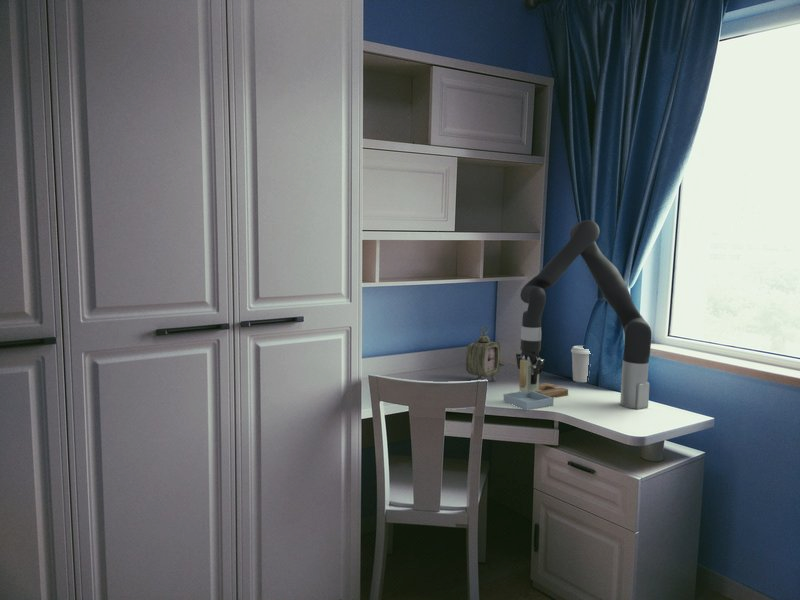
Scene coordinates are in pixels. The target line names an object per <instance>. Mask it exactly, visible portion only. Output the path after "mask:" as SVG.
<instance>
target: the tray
mask: <svg viewBox="0 0 800 600" xmlns="http://www.w3.org/2000/svg"><path fill="white" fill-rule="evenodd" d="M502 399H503V401H505V402H504V403H506V402H507V403H506V404H508V403H510V404H509V405H511V404H513V405H512V406H514V405H515V406H514V407H516V406H517V407H516V408H519V407H520V409H521V408H522V410H524V411H532V410H537V409H543V408H548V407H549V406H550V407H554V398H551V397H548V396H545V395H543V394H540V393H537V392H529V393H525V392H522V391H520V390H519V391H514V392H509V393H508V392H507V393H503V398H502ZM503 401H502V402H503ZM550 407H549V408H550Z"/></svg>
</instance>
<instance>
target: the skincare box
mask: <svg viewBox="0 0 800 600" xmlns="http://www.w3.org/2000/svg"><path fill="white" fill-rule="evenodd" d="M532 366H536V364H535V365H532ZM534 371H535V368H534ZM538 371H539V370H538ZM531 375H532V374H531V369H530V361H528V360H524V359H521V360H520V369H519V384H518V385H519V386H518V390H519V392H520V391H522V392H525V393H529V392H535V391H538V388H539V384H540V374H538V375H537V383H536V384H531Z"/></svg>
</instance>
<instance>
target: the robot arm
mask: <svg viewBox="0 0 800 600" xmlns="http://www.w3.org/2000/svg"><path fill="white" fill-rule="evenodd" d="M600 233H601V232H600V227H599V225H598V223H597V222H596V221H593V220H590V219H585V220H581V221H580V222H578V223H577V224H575V225H574V226H572V227H571V229H570V231H569V240H568V242H567V243H566V244H565V245H564V247H562V248H561V249H560V250H559V251H558V252H557V253H556V254H555V255H554V256H553V257H552V258H551V259H550V260H549V261H548V262H547V263H546V265H545V266H544V267H542V269H541V270H540V271H539V273H538V274H537V275H535V276H534V277H532V278H531V279H530V280H529V281H528V282H527V283H526V284H525V285H524V286H523V287H522V288H521V291H520V300H521V301H522V302H524V304H525V303H526V304H528V306H527V310H525V311H523V313H522V318H521V331H520V347H519V348H520V351H521V352H519V353H516V354H515V357H516V358H515V359H516V365H517V369H518V370H520V360H521V359H524V360H528V361H530V369H531V374H532V375H531V384H536V383H537V375H538V374H539V375H541V374H542V373H543V369H544V366H545V361H546V360H545V359H544V358H543V359H542V358H541V357H540V351H541V347H542V315H543V313H544V310H545V306H546V301H547V295H546V292H545V290H546V289H548V288H551V287H552V288H553V286H555V284H556V283H557V282H558V281H559V279H560V278H561V277H562V276H563V275H564V273H565V272H566V271H567V270H568V268H569V267H570V266H571V265H572V264H573V262H574V261H575V260H576V259H577V258H578V257H579V256H581V257H582V259H583V260H584V262H585V264H586V266H587V269H588V270H589V272H590V274H591V276H592V277H593V279H594V281H595V283H596V285H597V286H598V289H599V291H600V292H601V294H602V296H603V297H604V299H605V300H606V301H607V302H608V304H609V305H610V307H611V308H612V309H613V310H614V312H615V314H616V315H617V317H618V320H619V323H620V324H621V327H622V329H623V332H624V344H623V345H624V347H623V355H622V369H621V371H622V372H621V381H620V383H621V387H620V400H619V404H620V405H621V406H622V407H625V408H629V409H635V410H641V409H645V408H646V409H647V408H648V407H649V398H650V397H649V396H650V382H648V379H649V378H648V377H649V365H650V364H649V362H650V355H651V345H652V328H651V327H650V325H649V323H648V322H647V321H646V320H645V319H644V317H643V316H642V315H641V313H640V312H639V310H638V309H637V307H636V305H635V303H634V302H633V299H632V296H631V293H630V291H629V289H628V287H627V284H626V282H625V279H624V278H623V276H622V275H621V273H620V271H619V270H618V267H616V266H615V265H614V264H613V262H611V260H609V259H608V258H607V257H606V256H605V255H604V254H603V252H602V251H601V250H600V248H599V245H597V242H596V241H597V240H598V238H599V236H600ZM535 364H536V366H532V365H535ZM534 368H535V371H534ZM538 370H539V371H538Z"/></svg>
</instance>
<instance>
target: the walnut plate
mask: <svg viewBox="0 0 800 600" xmlns="http://www.w3.org/2000/svg"><path fill="white" fill-rule="evenodd" d="M535 392H537V393H540V394H543V395H545V396H548V397H551V398H553V399H554V397H555V398H560V397H567V396H569V389H568V388H565V387H562V386H559V385H555V384H552V383H549V382H545V383H544V382H543V383H539V388H538V391H535Z"/></svg>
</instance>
